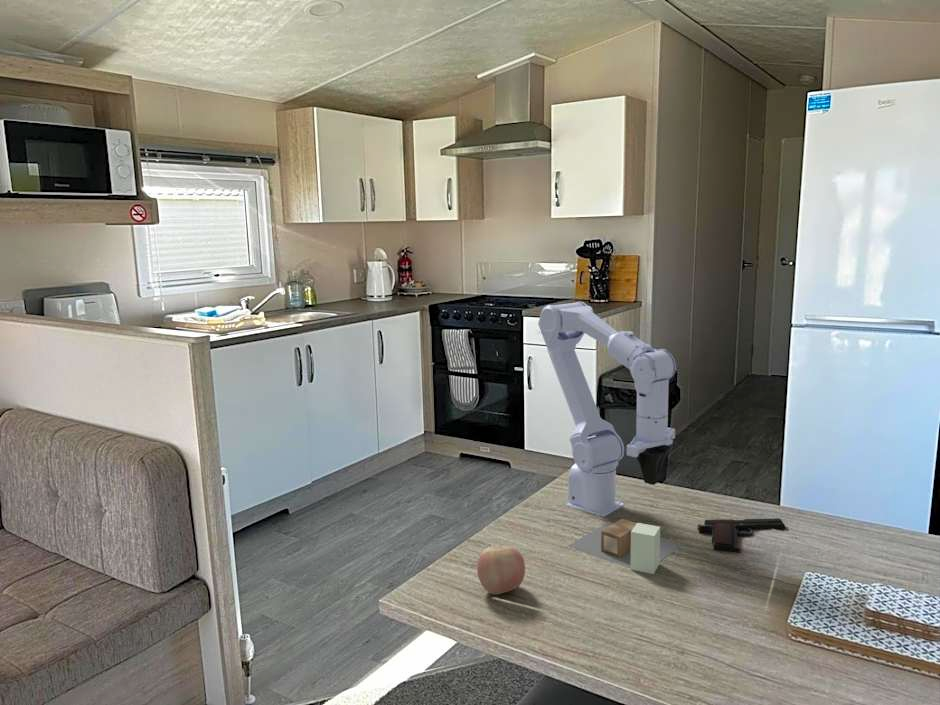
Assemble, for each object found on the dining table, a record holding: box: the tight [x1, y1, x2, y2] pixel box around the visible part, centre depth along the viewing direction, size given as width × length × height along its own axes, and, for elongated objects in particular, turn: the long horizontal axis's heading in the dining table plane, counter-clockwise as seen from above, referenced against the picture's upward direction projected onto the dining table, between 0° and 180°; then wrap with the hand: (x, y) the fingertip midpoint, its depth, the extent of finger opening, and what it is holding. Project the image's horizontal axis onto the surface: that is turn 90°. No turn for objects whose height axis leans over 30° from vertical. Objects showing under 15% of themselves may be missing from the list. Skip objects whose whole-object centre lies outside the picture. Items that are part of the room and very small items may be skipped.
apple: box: [476, 545, 526, 596], centre depth 119 cm, size 8×8×8 cm
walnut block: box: [601, 518, 638, 558], centre depth 132 cm, size 4×4×7 cm
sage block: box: [629, 522, 661, 575], centre depth 125 cm, size 4×4×7 cm
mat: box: [567, 521, 684, 574], centre depth 134 cm, size 16×14×1 cm
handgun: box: [697, 517, 786, 554], centre depth 135 cm, size 2×17×12 cm
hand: (650, 482), depth 138 cm, fingers closed
